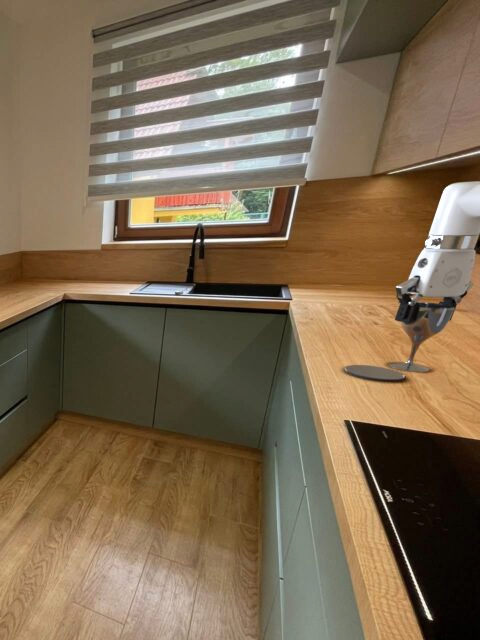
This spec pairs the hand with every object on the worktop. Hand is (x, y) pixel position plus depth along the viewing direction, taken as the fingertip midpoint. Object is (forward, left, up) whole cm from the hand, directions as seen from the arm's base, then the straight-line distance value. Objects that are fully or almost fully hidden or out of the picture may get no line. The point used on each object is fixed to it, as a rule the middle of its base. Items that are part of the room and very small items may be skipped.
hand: (422, 320), depth 99 cm
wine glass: (0, 0, -12) cm, 12 cm away
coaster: (+12, +3, -11) cm, 17 cm away
